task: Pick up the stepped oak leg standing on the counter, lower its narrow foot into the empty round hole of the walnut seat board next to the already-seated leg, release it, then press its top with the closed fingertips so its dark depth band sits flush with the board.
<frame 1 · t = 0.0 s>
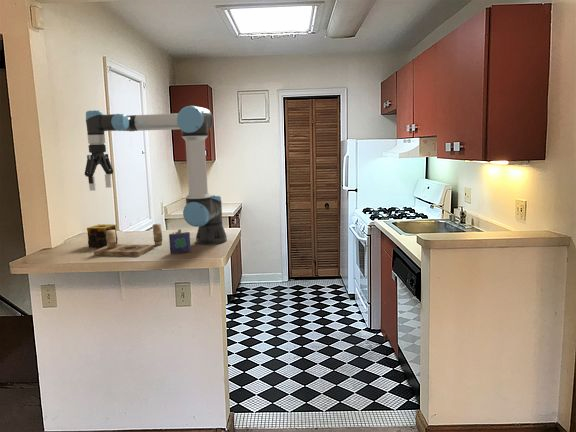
hand: (101, 189, 225), 28 cm above the table, fingers open, 13 cm apart
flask: (180, 253, 211), on the table
seat board: (124, 252, 215), on the table
black and yellow cube: (103, 246, 230), on the table
oak leg: (158, 244, 229), on the table
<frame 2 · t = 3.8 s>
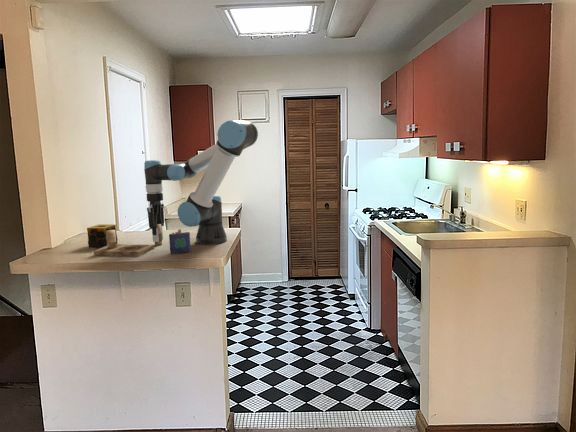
hand: (158, 240, 228), 2 cm above the table, fingers closed on oak leg, 4 cm apart
oak leg: (158, 244, 229), on the table, touching gripper
everything else where it was.
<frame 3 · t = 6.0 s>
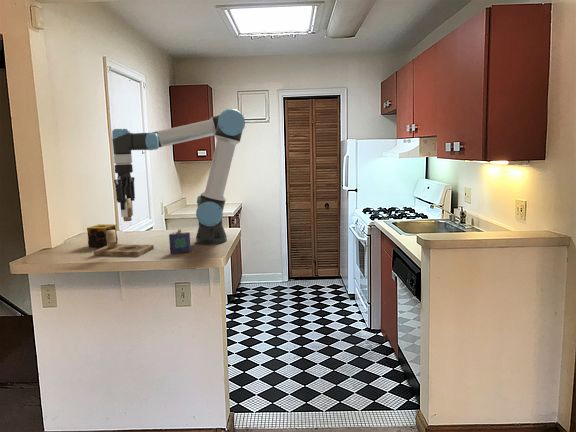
hand: (127, 215, 212), 17 cm above the table, fingers closed on oak leg, 4 cm apart
oak leg: (127, 220, 212), point 15 cm above the table, touching gripper
everything else where it was.
when the fingers open (3 cm above the table, at t = 8.3 s): oak leg stays where it is, resting in seat board.
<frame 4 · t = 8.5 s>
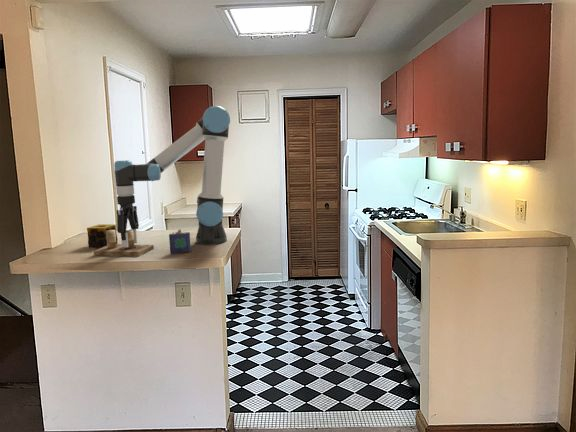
hand: (129, 244, 214), 3 cm above the table, fingers open, 7 cm apart
oak leg: (130, 252, 214), resting in seat board
everything else where it was.
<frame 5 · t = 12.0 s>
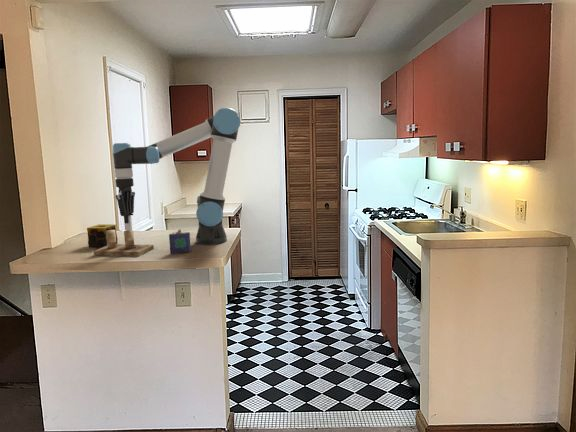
hand: (128, 229, 213), 10 cm above the table, fingers closed
nothing on the table moved.
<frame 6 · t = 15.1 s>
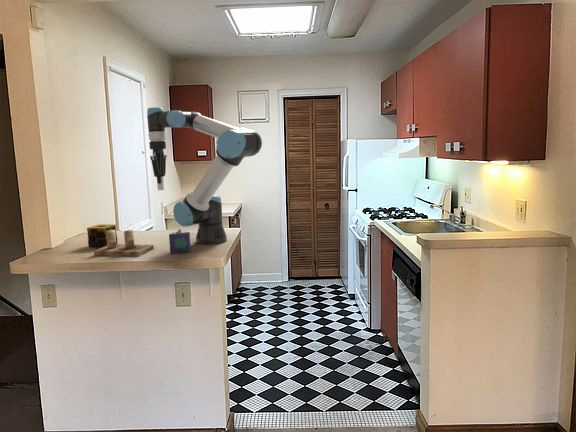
hand: (161, 190, 227), 26 cm above the table, fingers closed
nothing on the table moved.
at the end: oak leg 0.1 cm from the target spot in the seat board, point 0.0 cm above the seat board's base; oak leg tilted 0°; the gripper is holding nothing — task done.
